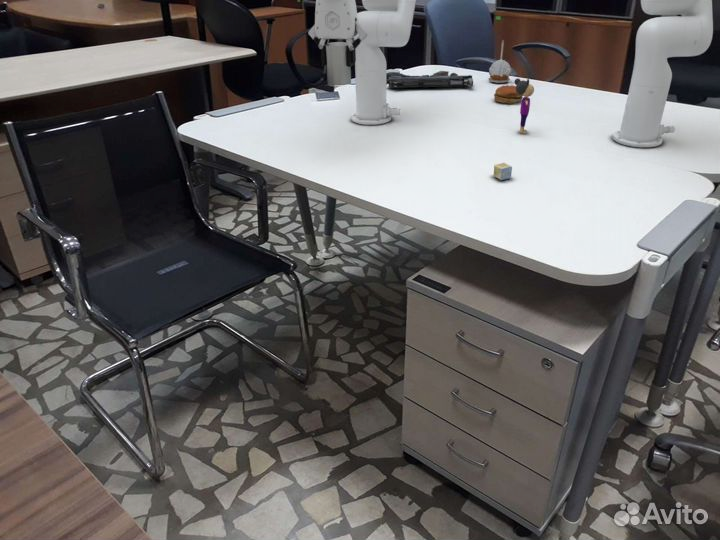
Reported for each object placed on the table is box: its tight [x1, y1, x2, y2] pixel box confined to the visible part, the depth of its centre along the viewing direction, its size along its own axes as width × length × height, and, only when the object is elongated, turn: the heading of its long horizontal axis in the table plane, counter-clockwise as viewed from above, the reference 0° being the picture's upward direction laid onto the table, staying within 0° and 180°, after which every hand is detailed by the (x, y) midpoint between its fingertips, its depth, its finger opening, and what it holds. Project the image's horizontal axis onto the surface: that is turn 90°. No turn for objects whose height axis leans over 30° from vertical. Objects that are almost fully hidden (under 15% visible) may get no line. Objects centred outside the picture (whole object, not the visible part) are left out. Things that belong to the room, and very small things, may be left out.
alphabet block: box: [493, 162, 513, 181], centre depth 136 cm, size 3×3×3 cm
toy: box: [514, 77, 535, 134], centre depth 162 cm, size 10×6×15 cm, turn 168°
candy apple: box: [487, 39, 512, 84], centre depth 216 cm, size 8×8×15 cm
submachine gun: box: [386, 70, 474, 89], centre depth 219 cm, size 33×4×25 cm
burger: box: [493, 84, 524, 105], centre depth 195 cm, size 10×9×5 cm
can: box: [326, 41, 352, 87], centre depth 146 cm, size 6×6×10 cm
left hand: (338, 64), depth 146 cm, fingers closed on can, 6 cm apart
